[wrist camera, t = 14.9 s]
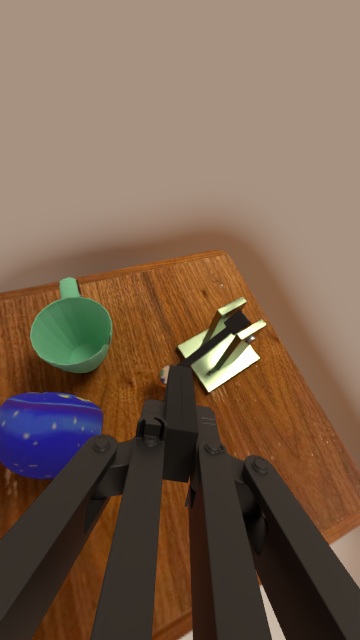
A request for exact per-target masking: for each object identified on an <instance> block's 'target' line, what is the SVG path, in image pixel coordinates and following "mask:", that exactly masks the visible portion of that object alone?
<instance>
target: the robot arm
mask: <svg viewBox="0 0 360 640" xmlns="http://www.w3.org/2000/svg"><path fill="white" fill-rule="evenodd" d="M189 475H190V485H189V490H188V494H187V498H186V503H185V506H186V507H187V506H188V509H189V537H190V565H191V593H192V621H193V640H272V637H271V634H270V629H269V625H268V621H267V617H266V612H265V608H264V604H263V600H262V596H261V592H260V587H259V583H258V579H257V574H258V576H259V578H260V581H261V583H262V585H263V588H264V590H265V592H266V595H267V597H268V599H269V601H270V604H271V606H272V608H273V611H274V613H275V615H276V618H277V620H278V622H279V624H280V627H281V629H282V632H283V634H284V636H285V638H286V640H360V589H359V587H358V586H357V584H356V583H355V582H354V580H353V579H352V577H351V576H350V574H349V573H348V572H347V570H346V569H345V567H344V566H343V565H342V563H341V562H340V560H339V559H338V557H337V556H336V555H335V553H334V552H333V550H332V549H331V547H330V546H329V545H328V543H327V542H326V540H325V539H324V538H323V536H322V535H321V533H320V532H319V530H318V529H317V528H316V526H315V525H314V523H313V522H312V521H311V519H310V518H309V516H308V515H307V513H306V512H305V511H304V509H303V508H302V506H301V505H300V503H299V502H298V501H297V499H296V498H295V496H294V495H293V494H292V492H291V491H290V489H289V488H288V486H287V485H286V484H285V482H284V481H283V479H282V478H281V477H280V475H279V474H278V472H277V471H276V469H275V468H274V467H273V465H272V464H271V463H270V462H269V461H267V460H266V459H264V458H262V457H260V456H255V455H251V456H248V457H247V458H246V459H245V461H242V460H240V459H237V458H235V457H233V456H231V455H229V454H228V452H227V450H226V447H225V446H224V445H223V444H222V443H221V442H220V437H219V433H218V428H217V423H216V419H215V414H214V412H213V411H212V410H211V409H210V407H204V406H197V405H196V402H195V393H194V384H193V375H192V368H188V367H182V366H175V365H170V366H169V372H168V378H167V383H166V389H165V394H164V400H163V401H160V400H154V399H148V400H147V401H146V402H145V403H144V405H143V410H142V414H141V418H140V419H139V421H138V424H137V431H136V436H135V437H134V438H133V439H131V440H130V441H127V442H122V443H117V441H116V440H115V439H114V438H113V437H111V436H109V435H104V434H102V435H96V436H93V437H91V438H90V439H89V440H87V441H86V443H85V444H84V445H83V446H82V447H81V448H80V449H79V451H78V452H77V453H76V454H75V455H74V456H73V457H72V459H71V460H70V461H69V462H68V463H67V464H66V465H65V467H64V468H63V469H62V470H61V471H60V472H59V474H58V475H57V476H56V477H55V478H54V479H53V480H52V482H51V483H50V484H49V485H48V486H47V487H46V488H45V490H44V491H43V492H42V493H41V494H40V495H39V497H38V498H37V499H36V500H35V501H34V502H33V503H32V505H31V506H30V507H29V508H28V509H27V510H26V511H25V513H24V514H23V515H22V516H21V517H20V518H19V519H18V521H17V522H16V523H15V524H14V525H13V526H12V528H11V529H10V530H9V531H8V532H7V533H6V534H5V536H4V537H3V538H2V539H1V540H0V640H31V639H32V637H33V635H34V633H35V632H36V630H37V628H38V626H39V625H40V623H41V621H42V619H43V617H44V616H45V614H46V612H47V610H48V608H49V607H50V605H51V603H52V601H53V600H54V598H55V596H56V594H57V592H58V591H59V589H60V587H61V585H62V584H63V582H64V580H65V578H66V576H67V575H68V573H69V571H70V569H71V567H72V566H73V564H74V562H75V560H76V559H77V557H78V555H79V553H80V551H81V550H82V548H83V546H84V544H85V543H86V541H87V539H88V537H89V535H90V534H91V532H92V530H93V528H94V526H95V525H96V523H97V521H98V519H99V518H100V516H101V514H102V512H103V510H104V509H105V507H106V505H107V503H108V502H109V499H110V496H116V495H122V494H123V495H122V500H121V504H120V509H119V513H118V517H117V522H116V526H115V531H114V535H113V540H112V544H111V549H110V553H109V558H108V562H107V566H106V571H105V575H104V580H103V584H102V589H101V593H100V598H99V602H98V607H97V611H96V615H95V620H94V624H93V629H92V633H91V638H90V640H151V638H152V623H153V608H154V593H155V579H156V564H157V549H158V534H159V519H160V504H161V490H162V479H165V480H172V481H179V482H186V483H188V479H189ZM255 569H256V570H255ZM256 571H257V574H256Z"/></svg>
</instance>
